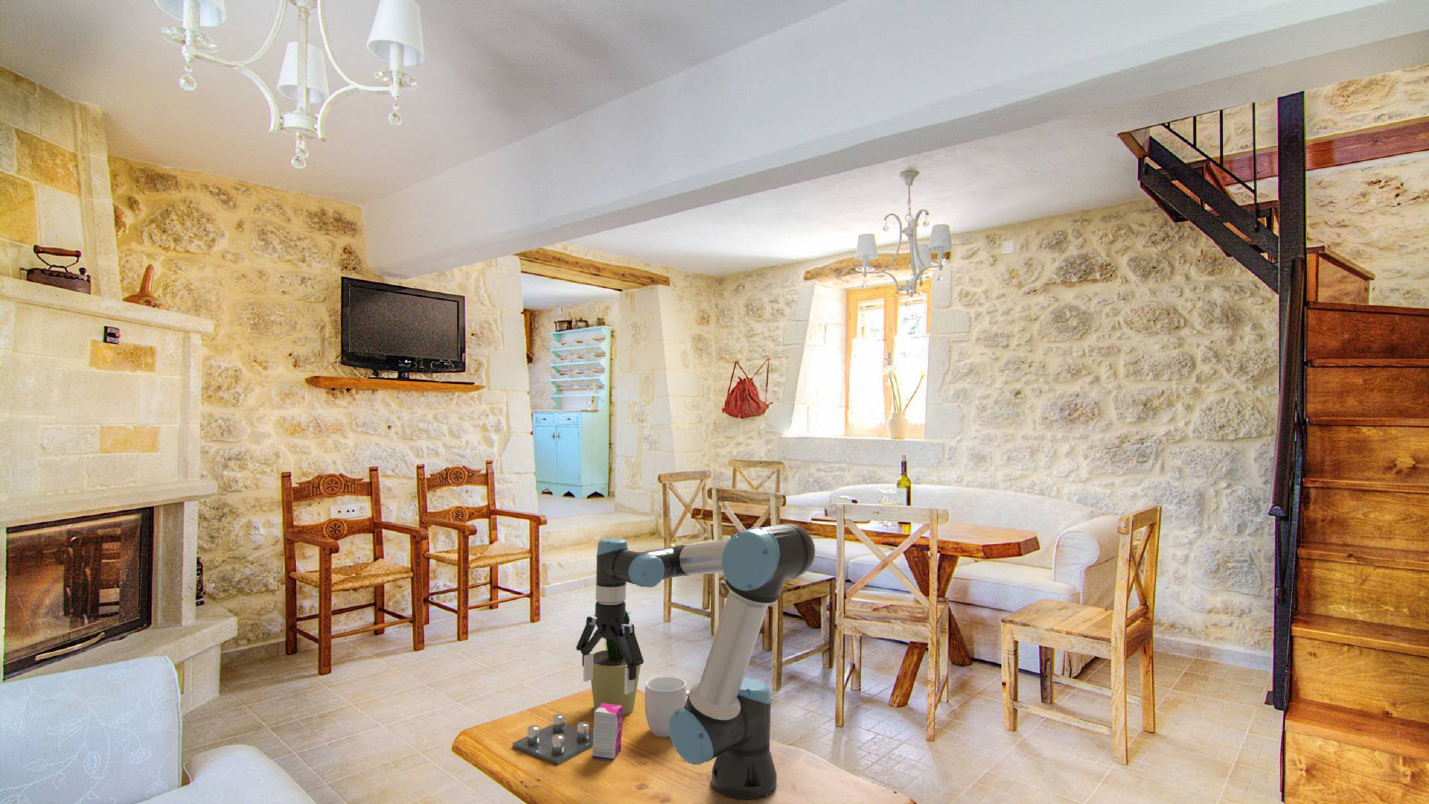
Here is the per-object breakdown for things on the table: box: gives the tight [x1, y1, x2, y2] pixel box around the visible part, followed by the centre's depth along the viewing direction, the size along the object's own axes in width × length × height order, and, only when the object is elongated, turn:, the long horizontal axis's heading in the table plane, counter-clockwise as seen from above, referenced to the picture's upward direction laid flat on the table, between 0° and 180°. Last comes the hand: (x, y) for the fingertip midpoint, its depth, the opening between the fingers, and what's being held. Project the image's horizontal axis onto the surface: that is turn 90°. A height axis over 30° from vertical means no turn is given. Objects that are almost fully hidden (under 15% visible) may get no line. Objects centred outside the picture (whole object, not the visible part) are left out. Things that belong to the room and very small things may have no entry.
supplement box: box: [591, 703, 623, 762], centre depth 176 cm, size 6×6×12 cm
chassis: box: [512, 713, 593, 766], centre depth 181 cm, size 16×16×4 cm
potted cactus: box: [590, 608, 642, 717], centre depth 203 cm, size 15×15×30 cm
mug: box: [644, 675, 690, 738], centre depth 189 cm, size 15×11×13 cm
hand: (608, 686), depth 176 cm, fingers open, 13 cm apart
